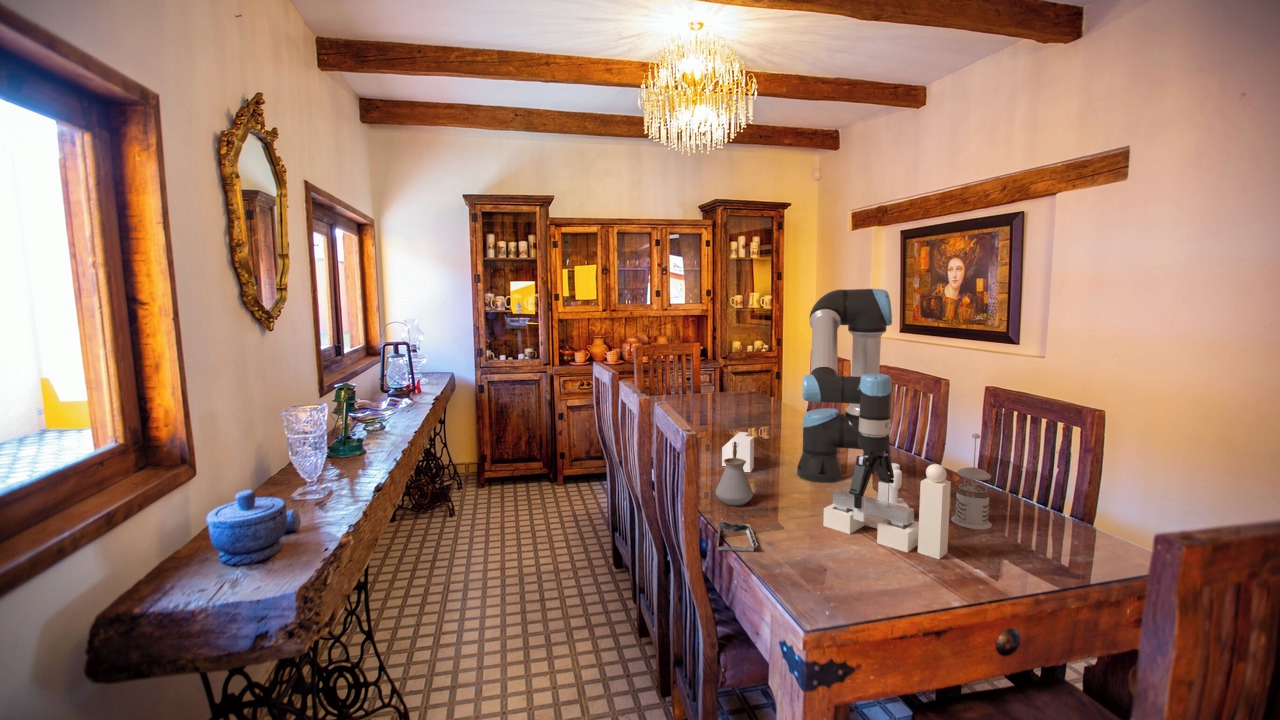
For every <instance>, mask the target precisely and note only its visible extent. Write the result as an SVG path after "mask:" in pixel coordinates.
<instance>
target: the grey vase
mask: <svg viewBox="0 0 1280 720" xmlns="http://www.w3.org/2000/svg"><path fill="white" fill-rule="evenodd" d="M732 444H733V443H732ZM732 446H733V445H732ZM738 446H739V444H738ZM738 446H736V442H734V446H733V447H734V449H733V458H728V459H725V460H724V463H725V464H726V467H724V471H723V474H722V475H721V478H720V480H719V482H718V485H717V487H716V489H715V492H714V493H715V495H716V497H717V498H718V500H720V501H721V503H723V504H725V505H727V506H732V507H733V506H734V507H736V506H737V507H738V506H740V507H741V506H744V505H746V504H747V503H748V502H749V501H751V499H752V498H753V496H754V491H753V489H752V487H751V484H750V481H749V479H748V477H747V475H746V474H747V473H745V472H744V470H743V466H744V464H745V463H746V461H745V460H743V459H739V458H736V454H737V449H736V448H737V447H738Z"/></svg>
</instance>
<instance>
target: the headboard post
mask: <svg viewBox="0 0 1280 720" xmlns="http://www.w3.org/2000/svg"><path fill="white" fill-rule="evenodd" d="M925 475H926V478H924V479H922V480H921V481H920V486H919V487H920V488H919V489H920V490H919V511H918V514H919V515H918V521H915V520H914V521H912V522H911V523H910V526H909V527H908V528H906V529H901V528H898V527H894V526H891V520H888V519H884V518H881V517H877V516H874V515H870V514H867V513H865V521H864V522H863V521H859V520H856V519H853V510H852V511H850V512H848V513H846V512H843V511H839V510H836V505H835V504H833V503H832V504H830V505H828V506H826V507H824V508H823V524H822V525H823V526H824V527H825V528H829V529H832V530H835V531H838V532H841V533H844V534H848V535H851V534H852V533H854V532H855V531H857V530H859V529H861V528H862V527H865V526H867V527H870V528H874V529H877V533H876V543H877V544H879V545H882V546H885V547H888V548H891V549H895V550H898V551H901V552H904V553H909V552H910V551H912V550H913V549H914V548H916V547H917V553H918V554H921V555H924V556H927V557H930V558H932V559H937V560H941V559H942V558H943V557H944V556H946V555H947V553H948V545H949V524H950V507H951V506H950V504H951V503H950V502H951V485H952V484H951V483H952V481H950V480H946V478H947V470H946V468H945V467H944V466H943V465H940V464H937V463H934V464H933V463H932V464H930V465H928V466H927V468H926V469H925Z"/></svg>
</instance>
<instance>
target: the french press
mask: <svg viewBox="0 0 1280 720" xmlns="http://www.w3.org/2000/svg"><path fill="white" fill-rule="evenodd" d="M980 437H981V435H980V434H979V433H972V436H971V438H973V439H974V454H973V455H974V456H973V467H963V468H960V469H958V470H957V471H956V474H957V475H958V476H961V477H963V478H964V483H961V484H958V486H957V487H958V488H957V490H956V498H955V515H953V516H952V517H951V519H950V520H951V521H952V522H953V524H955V525H958V526H961V527H963V528H967V529H971V530H972V529H973V530H989V529H991V528H992V526H993V525H992V523H991V522H990V521H989V509H990V494H988V492H989V489H988V488H987V487H984V486H982V485H979V484H974V483H975V480H976V481H988V480H990V479H991V478H992V475H991V474H990V473H988V472H987V471H986V470H984V469H981V468H979V467H976V449H977V447H976V446H977V439H980ZM967 480H970V483H966V481H967ZM969 494H970V495H971V497H969Z"/></svg>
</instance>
